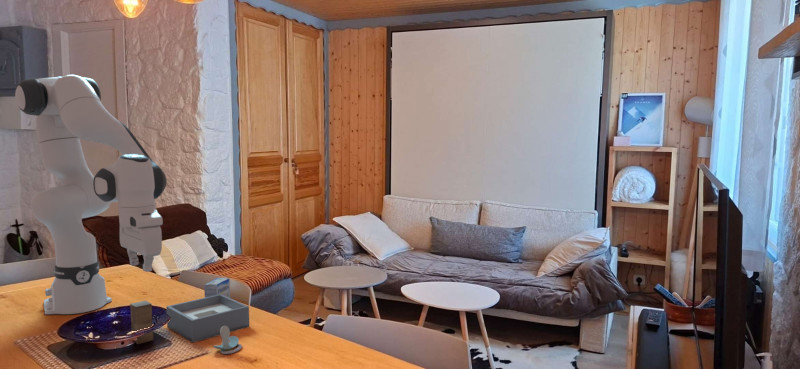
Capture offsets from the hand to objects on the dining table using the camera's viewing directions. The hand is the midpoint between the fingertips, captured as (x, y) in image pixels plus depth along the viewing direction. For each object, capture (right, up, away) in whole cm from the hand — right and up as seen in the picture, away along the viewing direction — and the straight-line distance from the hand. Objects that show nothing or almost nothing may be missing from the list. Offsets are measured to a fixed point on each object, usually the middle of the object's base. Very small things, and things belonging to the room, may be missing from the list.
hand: (140, 268), depth 146 cm
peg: (0, -20, +2) cm, 20 cm away
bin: (+14, -19, +12) cm, 26 cm away
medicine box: (+11, -17, +29) cm, 35 cm away
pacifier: (+25, -21, -5) cm, 33 cm away
